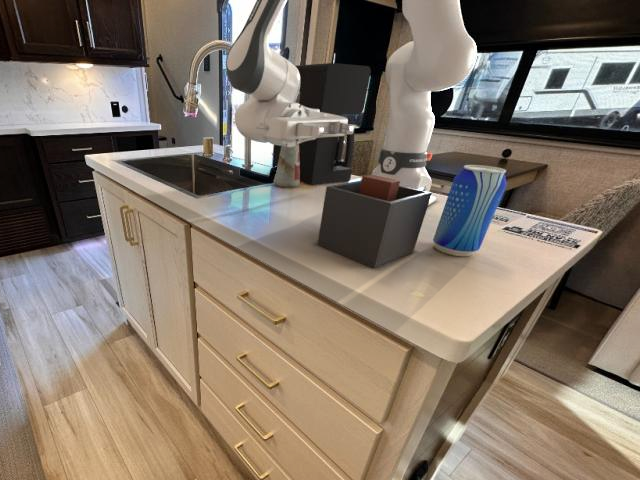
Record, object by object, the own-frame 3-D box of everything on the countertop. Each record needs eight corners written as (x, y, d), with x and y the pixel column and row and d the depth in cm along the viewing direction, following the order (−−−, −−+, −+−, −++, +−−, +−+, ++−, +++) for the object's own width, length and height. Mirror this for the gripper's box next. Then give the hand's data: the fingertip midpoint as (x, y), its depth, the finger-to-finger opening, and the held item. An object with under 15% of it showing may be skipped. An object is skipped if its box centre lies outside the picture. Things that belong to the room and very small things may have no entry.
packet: (357, 238, 72) (371, 174, 65) (382, 247, 68) (400, 180, 61) (348, 241, 70) (362, 176, 63) (373, 251, 66) (391, 182, 59)
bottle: (269, 183, 118) (276, 88, 103) (293, 182, 120) (303, 89, 105) (278, 189, 111) (286, 88, 96) (303, 188, 113) (315, 89, 98)
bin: (357, 232, 77) (368, 178, 71) (413, 251, 68) (432, 192, 62) (317, 244, 70) (326, 186, 64) (374, 268, 61) (391, 203, 55)
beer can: (483, 260, 66) (521, 174, 57) (437, 255, 67) (468, 170, 59) (468, 244, 73) (499, 165, 64) (426, 240, 74) (452, 162, 66)
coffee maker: (359, 183, 122) (384, 65, 103) (318, 188, 113) (337, 60, 95) (309, 169, 142) (322, 68, 124) (271, 172, 134) (278, 65, 115)
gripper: (252, 109, 69) (302, 112, 59) (319, 108, 80) (370, 112, 70) (251, 143, 72) (298, 151, 63) (315, 138, 83) (363, 145, 74)
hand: (336, 130), depth 67 cm, fingers open, 8 cm apart
